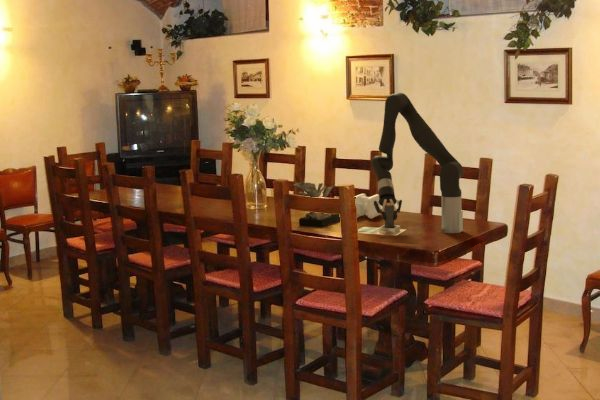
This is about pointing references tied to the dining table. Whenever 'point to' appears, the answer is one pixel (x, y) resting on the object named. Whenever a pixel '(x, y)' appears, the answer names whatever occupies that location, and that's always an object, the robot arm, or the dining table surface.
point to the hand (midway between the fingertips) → (390, 219)
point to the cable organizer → (367, 205)
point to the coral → (312, 217)
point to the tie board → (381, 230)
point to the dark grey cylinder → (389, 215)
